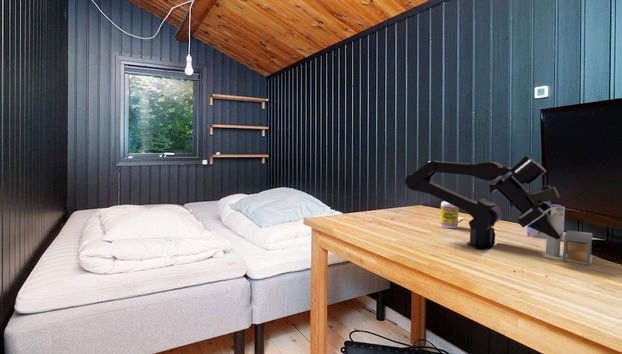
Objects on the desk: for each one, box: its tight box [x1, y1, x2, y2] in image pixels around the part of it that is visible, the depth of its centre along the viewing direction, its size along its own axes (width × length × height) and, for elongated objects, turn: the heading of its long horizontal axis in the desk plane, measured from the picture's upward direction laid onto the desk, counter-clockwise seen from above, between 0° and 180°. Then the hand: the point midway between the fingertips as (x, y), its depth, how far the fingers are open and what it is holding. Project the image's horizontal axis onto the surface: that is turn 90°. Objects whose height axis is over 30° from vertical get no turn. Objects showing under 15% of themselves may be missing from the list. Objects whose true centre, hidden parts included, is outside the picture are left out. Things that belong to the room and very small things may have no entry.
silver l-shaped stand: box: [543, 215, 593, 265], centre depth 89 cm, size 10×6×12 cm, turn 47°
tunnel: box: [562, 229, 594, 267], centre depth 88 cm, size 5×9×8 cm, turn 137°
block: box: [566, 241, 588, 263], centre depth 88 cm, size 4×4×5 cm
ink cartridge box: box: [526, 200, 566, 242], centre depth 113 cm, size 10×6×14 cm, turn 79°
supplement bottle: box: [439, 200, 459, 229], centre depth 133 cm, size 7×7×13 cm
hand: (559, 237), depth 91 cm, fingers closed on silver l-shaped stand, 3 cm apart
